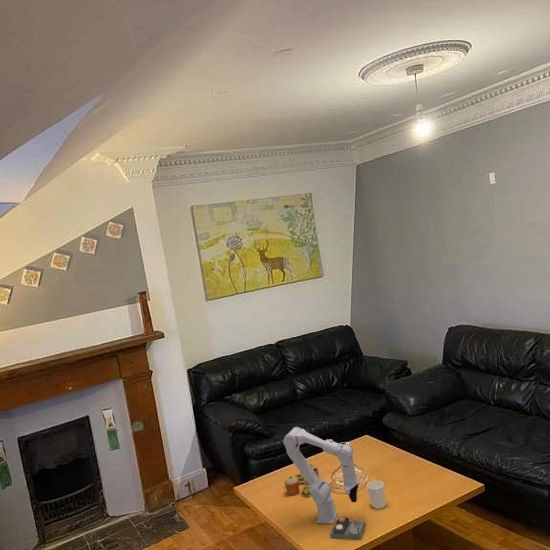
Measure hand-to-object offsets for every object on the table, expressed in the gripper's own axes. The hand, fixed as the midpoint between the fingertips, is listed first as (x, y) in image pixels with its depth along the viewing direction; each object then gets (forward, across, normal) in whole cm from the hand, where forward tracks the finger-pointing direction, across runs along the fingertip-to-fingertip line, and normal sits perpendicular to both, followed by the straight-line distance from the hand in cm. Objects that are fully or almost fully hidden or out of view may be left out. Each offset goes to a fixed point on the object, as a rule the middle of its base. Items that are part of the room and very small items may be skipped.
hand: (354, 501), depth 238 cm
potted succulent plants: (+10, +31, +37) cm, 49 cm away
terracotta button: (+6, -6, +5) cm, 10 cm away
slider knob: (+7, -12, -2) cm, 14 cm away
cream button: (+7, -11, +5) cm, 14 cm away
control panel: (+9, -9, +2) cm, 13 cm away
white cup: (+10, +14, -7) cm, 18 cm away
